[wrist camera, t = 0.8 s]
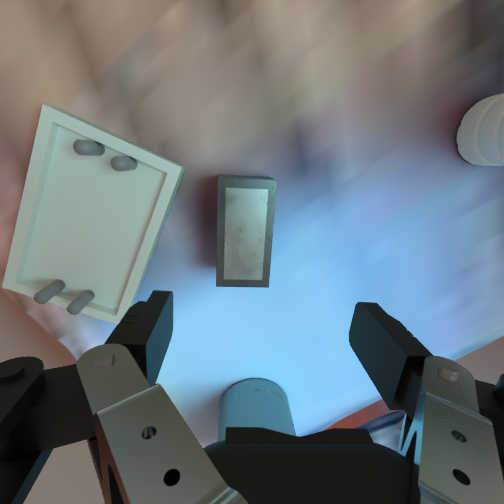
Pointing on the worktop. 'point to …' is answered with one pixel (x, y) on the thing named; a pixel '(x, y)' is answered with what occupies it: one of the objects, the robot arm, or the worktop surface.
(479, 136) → the water bottle
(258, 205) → the block
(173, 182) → the tray
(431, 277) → the worktop surface
